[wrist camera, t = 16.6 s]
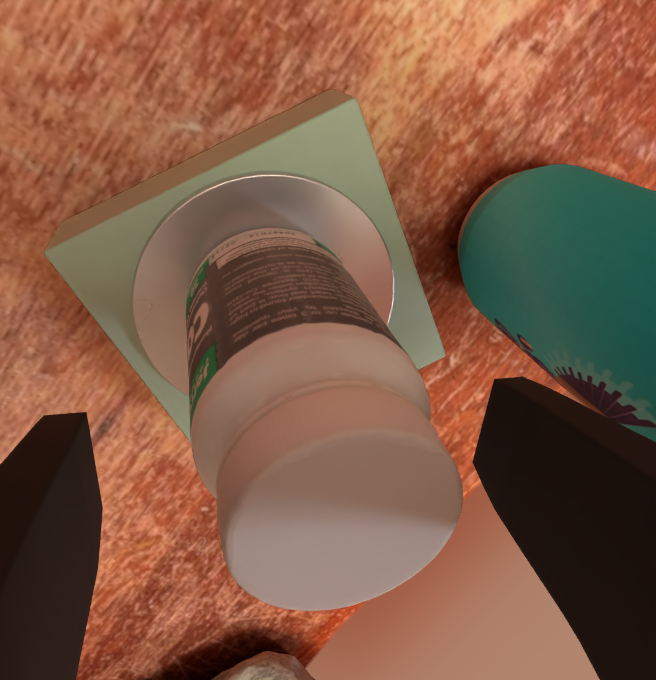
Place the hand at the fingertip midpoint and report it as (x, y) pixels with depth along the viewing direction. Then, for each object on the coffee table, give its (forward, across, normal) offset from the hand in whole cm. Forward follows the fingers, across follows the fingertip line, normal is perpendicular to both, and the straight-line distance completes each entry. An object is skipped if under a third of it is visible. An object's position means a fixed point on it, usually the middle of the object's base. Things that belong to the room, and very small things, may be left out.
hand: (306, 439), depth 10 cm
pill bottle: (+7, 0, 0) cm, 7 cm away
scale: (+10, -1, +1) cm, 10 cm away
